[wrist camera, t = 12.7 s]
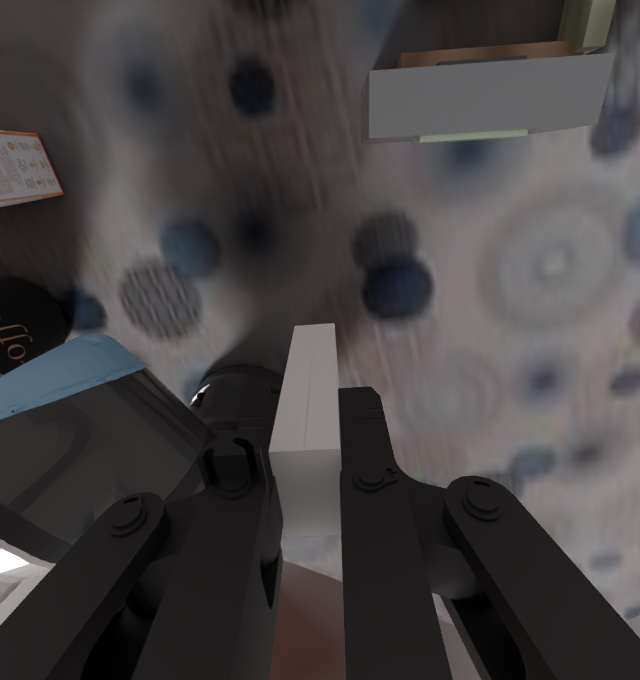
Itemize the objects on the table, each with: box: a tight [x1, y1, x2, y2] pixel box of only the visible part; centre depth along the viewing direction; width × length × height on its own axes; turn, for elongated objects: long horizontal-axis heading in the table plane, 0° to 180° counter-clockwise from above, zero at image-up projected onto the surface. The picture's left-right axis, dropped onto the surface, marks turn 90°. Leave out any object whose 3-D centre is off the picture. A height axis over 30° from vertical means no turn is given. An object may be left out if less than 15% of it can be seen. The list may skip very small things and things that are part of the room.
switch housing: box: [362, 53, 616, 144], centre depth 28 cm, size 16×5×8 cm, turn 93°
